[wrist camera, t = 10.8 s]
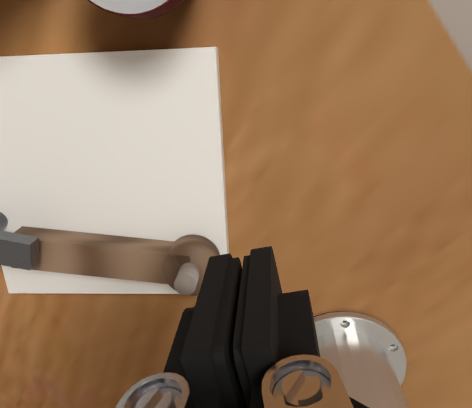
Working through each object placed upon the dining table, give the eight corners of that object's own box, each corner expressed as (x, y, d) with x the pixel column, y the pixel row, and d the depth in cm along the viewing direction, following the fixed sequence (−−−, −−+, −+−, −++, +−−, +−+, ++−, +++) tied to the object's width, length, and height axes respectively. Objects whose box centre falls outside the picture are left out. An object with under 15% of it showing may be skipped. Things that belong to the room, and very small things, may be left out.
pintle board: (230, 285, 42) (229, 294, 40) (17, 285, 43) (8, 293, 42) (217, 46, 34) (215, 47, 32) (-42, 58, 36) (-55, 59, 34)
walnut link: (222, 237, 38) (215, 262, 33) (218, 283, 39) (212, 313, 35) (21, 217, 38) (-11, 239, 34) (26, 263, 40) (-3, 290, 36)
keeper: (59, 219, 39) (30, 244, 34) (59, 243, 40) (30, 270, 35) (-12, 206, 39) (-52, 229, 34) (-11, 230, 40) (-49, 255, 35)
